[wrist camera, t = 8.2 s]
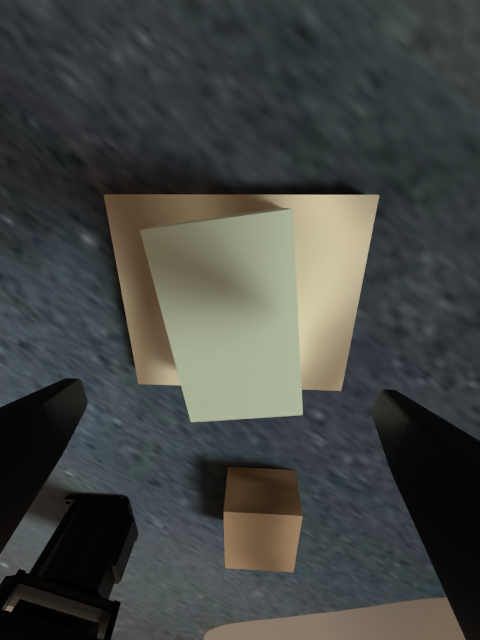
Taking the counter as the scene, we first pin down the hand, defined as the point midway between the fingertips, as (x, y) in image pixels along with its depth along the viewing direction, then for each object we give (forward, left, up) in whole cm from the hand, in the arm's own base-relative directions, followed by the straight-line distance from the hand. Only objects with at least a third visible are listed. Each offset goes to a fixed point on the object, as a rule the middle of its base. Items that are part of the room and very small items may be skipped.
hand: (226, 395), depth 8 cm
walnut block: (+2, -20, -10) cm, 23 cm away
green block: (0, 0, -8) cm, 8 cm away
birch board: (0, 0, -10) cm, 10 cm away
